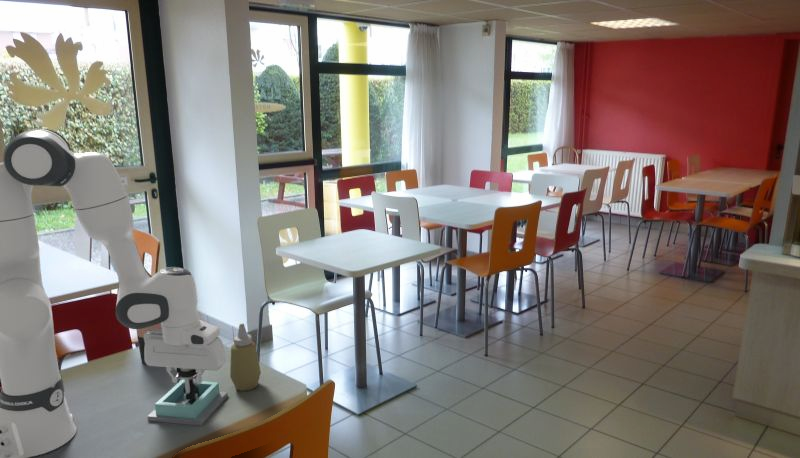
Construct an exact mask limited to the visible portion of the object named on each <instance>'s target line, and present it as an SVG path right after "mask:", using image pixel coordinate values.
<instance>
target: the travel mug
mask: <svg viewBox="0 0 800 458" xmlns="http://www.w3.org/2000/svg"><path fill="white" fill-rule="evenodd" d="M150 329H153V330H162V327H161V323H159V324H156V325H153V326H150V327H146V328H142V329H135V330H136V336H137V342H138V350H139V354H140V355H139V356H140V361H141V363H142V364H145V365H147V364H146V363H145V359H144V347H145V342H144V334H145V332H147V331H148V330H150Z"/></svg>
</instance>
